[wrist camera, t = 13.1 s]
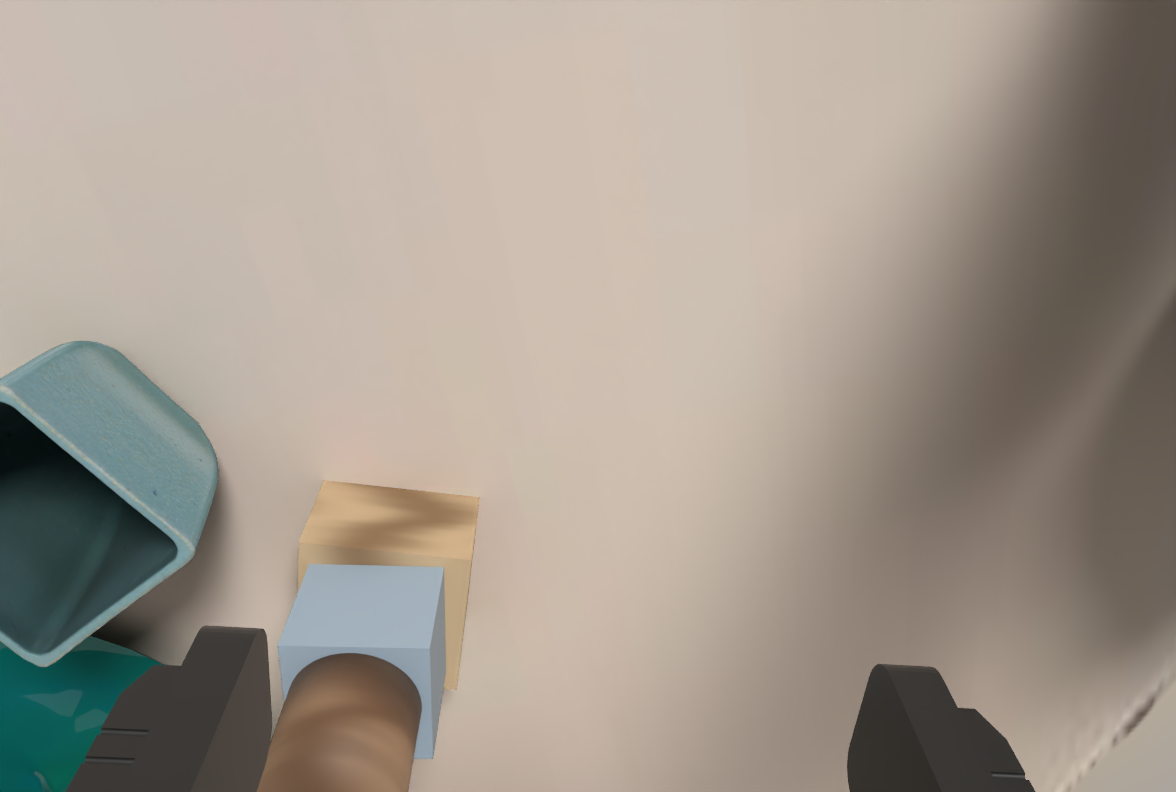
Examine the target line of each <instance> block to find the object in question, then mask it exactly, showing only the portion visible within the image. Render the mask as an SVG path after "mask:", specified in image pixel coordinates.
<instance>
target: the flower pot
mask: <svg viewBox="0 0 1176 792" xmlns="http://www.w3.org/2000/svg"><path fill="white" fill-rule="evenodd" d="M217 483H218V463H217V458H216V455H215V452H214V449H213V447H212V445H211V443H210V441H209V439H208V437H207V436H206V434H205V433H204V431H203V430H202V428H201V427H200V425H199V424H198V423H197V422H196V421H195V420H194V419H193V418H192V417H191V416H190V415H189V414H188V413H186V412H185V411H184V410H183V409H182V408H181V407H180V406H179V405H177V404H176V403H175V402H174V401H173V400H172V399H171V398H170V397H168V396H167V395H166V394H165V393H164V392H163V391H162V390H161V389H160V388H158V387H157V386H156V385H155V384H154V383H153V382H152V381H151V380H150V379H149V378H148V377H146V376H145V375H144V374H143V373H142V372H141V371H140V370H139V369H138V368H137V367H136V366H135V365H133V364H132V363H131V362H130V361H129V360H128V359H127V358H126V357H125V356H124V355H123V354H121V353H120V352H119V351H117V350H115V349H113V348H111V347H109V346H107V345H104V344H101V343H97V342H91V341H74V342H69V343H65V344H62V345H59V346H57V347H55V348H52V349H50V350H48V351H46V352H45V353H43V354H41V355H39V356H38V357H36V358H34V359H33V360H31V361H29V362H28V363H26V364H24V365H23V366H21V367H19V368H18V369H16V370H14V371H13V372H11V373H9V374H7V375H6V376H4V377H2V378H1V379H0V641H1V642H2V643H3V644H5V645H6V646H7V647H9V648H10V649H11V650H12V651H14V652H15V653H16V654H18V655H19V656H21V657H22V658H23V659H25V660H27V661H29V662H31V663H33V664H35V665H37V666H40V667H47V666H50V665H51V664H53V663H55V662H56V661H57V660H59V659H60V658H61V657H63V656H64V655H65V654H66V653H68V652H69V651H71V650H72V649H73V648H74V647H75V646H77V645H78V644H80V643H81V642H82V641H83V640H85V639H86V638H87V637H89V636H90V635H91V634H93V633H94V632H95V631H96V630H98V629H99V628H101V627H102V626H103V625H105V624H106V623H107V622H108V621H110V620H111V619H112V618H114V617H115V616H116V615H118V614H119V613H121V612H122V611H123V610H125V609H126V608H127V607H129V606H130V605H131V604H133V603H134V602H135V601H136V600H138V599H139V598H141V597H142V596H144V595H145V594H146V593H148V592H149V591H150V590H152V589H153V588H154V587H156V586H157V585H159V584H160V583H161V582H163V581H164V580H165V579H166V578H168V577H170V576H171V575H172V574H174V573H175V572H176V571H178V570H179V569H180V568H182V567H183V566H185V565H186V564H187V563H188V562H189V561H190V560H192V558H193V557H194V555H195V552H196V549H197V546H198V543H199V540H200V537H201V534H202V531H203V528H204V525H205V522H206V520H207V517H208V514H209V511H210V508H211V505H212V502H213V498H214V495H215V492H216V488H217Z"/></svg>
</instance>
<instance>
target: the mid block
mask: <svg viewBox="0 0 1176 792" xmlns="http://www.w3.org/2000/svg"><path fill="white" fill-rule="evenodd" d="M340 653H359V654H366V655H371V656H375V657H378V658H380V659H383V660H385V661H388V662H390V663H392V664H393V665H395V666H397V667H398V668H400V669H401V670H402V671H403V672H405V673H406V674H407V675H408V676H409V677H410V678H411V680H412V681H413V682H414V684H415V685H416V687H417V689H418V691H419V694H420V697H421V702H422V712H421V718H420V724H419V729H418V735H417V741H416V747H415V753H414V759H433V756H434V749H435V742H436V736H437V729H438V722H439V715H440V709H441V702H442V695H443V688H444V682H445V675H446V638H445V589H444V567H424V566H379V565H334V564H309V565H308V568H307V571H306V573H305V576H304V578H303V581H302V584H301V586H300V589H299V591H298V594H297V596H296V599H295V602H294V604H293V607H292V609H291V612H290V615H289V617H288V620H287V622H286V625H285V628H284V630H283V633H282V635H281V638H280V641H279V643H278V654H279V662H280V671H281V680H282V688H283V697H284V702H285V700H286V697H287V694H288V691H289V688H290V686H291V683H292V681H293V679H294V678H295V677H296V675H297V674H298V673H299V672H300V671H301V670H302V669H303V668H304V667H306V666H307V665H308V664H310V663H312V662H313V661H315V660H317V659H320V658H322V657H326V656H329V655H334V654H340Z"/></svg>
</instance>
